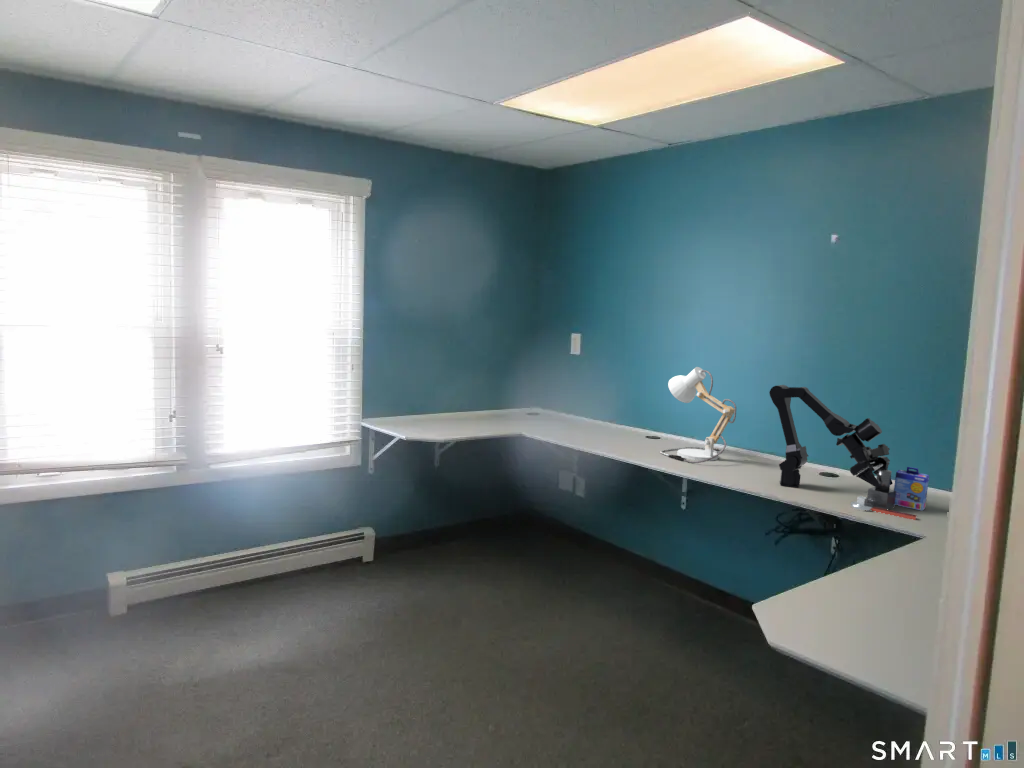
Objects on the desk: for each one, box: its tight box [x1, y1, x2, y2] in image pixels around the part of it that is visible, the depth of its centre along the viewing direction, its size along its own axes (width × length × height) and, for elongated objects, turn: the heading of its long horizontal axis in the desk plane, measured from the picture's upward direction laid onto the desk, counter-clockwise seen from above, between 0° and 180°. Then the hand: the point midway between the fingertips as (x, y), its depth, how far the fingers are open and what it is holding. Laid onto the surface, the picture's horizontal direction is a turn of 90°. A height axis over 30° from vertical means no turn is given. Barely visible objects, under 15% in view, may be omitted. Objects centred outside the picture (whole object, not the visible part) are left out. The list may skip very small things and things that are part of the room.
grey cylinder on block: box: [867, 469, 896, 510], centre depth 242 cm, size 7×7×13 cm
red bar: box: [850, 495, 918, 521], centre depth 235 cm, size 20×9×4 cm, turn 38°
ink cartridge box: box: [893, 466, 930, 511], centre depth 244 cm, size 10×6×14 cm, turn 51°
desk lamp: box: [659, 366, 737, 464], centre depth 309 cm, size 31×38×40 cm
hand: (885, 486), depth 241 cm, fingers open, 9 cm apart
